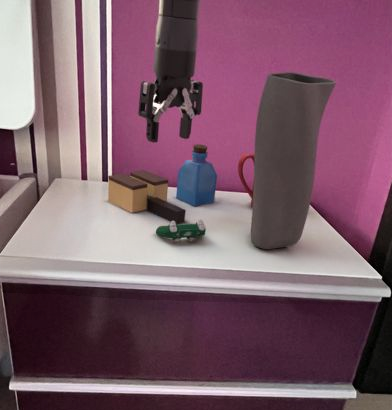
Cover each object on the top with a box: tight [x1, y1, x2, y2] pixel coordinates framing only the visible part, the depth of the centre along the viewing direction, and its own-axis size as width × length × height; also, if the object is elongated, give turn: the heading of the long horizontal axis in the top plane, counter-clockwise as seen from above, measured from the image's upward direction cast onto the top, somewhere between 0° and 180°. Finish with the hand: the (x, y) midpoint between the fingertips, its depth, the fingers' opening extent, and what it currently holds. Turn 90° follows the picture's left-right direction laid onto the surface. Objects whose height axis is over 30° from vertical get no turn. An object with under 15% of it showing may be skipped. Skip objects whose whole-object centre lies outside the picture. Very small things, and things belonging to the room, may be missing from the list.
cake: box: [107, 169, 169, 214], centre depth 121 cm, size 10×8×6 cm
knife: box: [146, 194, 187, 225], centre depth 120 cm, size 18×2×3 cm, turn 46°
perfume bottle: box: [175, 143, 218, 207], centre depth 125 cm, size 6×6×12 cm
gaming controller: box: [155, 219, 207, 243], centre depth 107 cm, size 9×4×6 cm
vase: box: [250, 71, 337, 250], centre depth 103 cm, size 12×12×30 cm
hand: (168, 139), depth 109 cm, fingers open, 8 cm apart
